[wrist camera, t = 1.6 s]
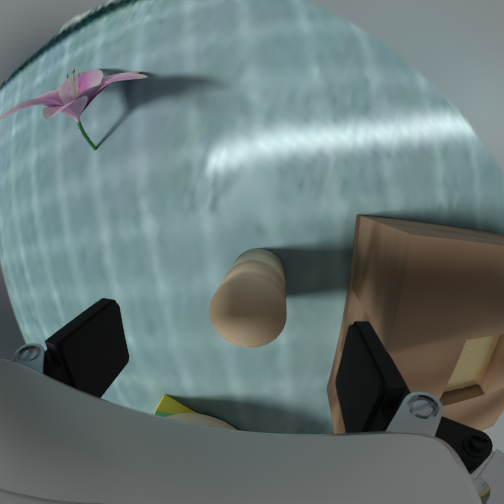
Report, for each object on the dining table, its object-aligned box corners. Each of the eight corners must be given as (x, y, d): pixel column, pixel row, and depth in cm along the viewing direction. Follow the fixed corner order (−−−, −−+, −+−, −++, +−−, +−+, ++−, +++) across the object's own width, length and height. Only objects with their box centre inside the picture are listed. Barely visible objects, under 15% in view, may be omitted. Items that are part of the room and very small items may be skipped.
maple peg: (283, 300, 21) (282, 350, 14) (231, 296, 21) (210, 343, 14) (287, 250, 20) (289, 281, 13) (232, 246, 20) (208, 275, 13)
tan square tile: (472, 376, 13) (478, 383, 12) (430, 385, 14) (436, 393, 13) (493, 325, 12) (501, 331, 11) (452, 330, 13) (460, 337, 12)
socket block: (457, 376, 21) (492, 425, 12) (326, 389, 22) (338, 464, 14) (499, 234, 17) (563, 255, 8) (356, 214, 19) (411, 234, 10)
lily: (191, 117, 19) (155, 17, 10) (82, 221, 17) (-5, 155, 8) (125, 82, 22) (92, 17, 13) (45, 157, 20) (-8, 104, 11)
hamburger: (147, 417, 26) (106, 489, 14) (173, 383, 24) (123, 473, 12) (231, 460, 27) (214, 535, 15) (270, 434, 25) (261, 526, 13)
